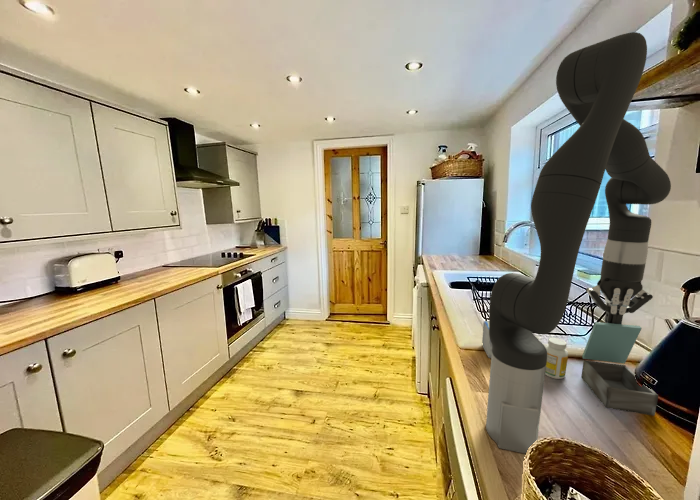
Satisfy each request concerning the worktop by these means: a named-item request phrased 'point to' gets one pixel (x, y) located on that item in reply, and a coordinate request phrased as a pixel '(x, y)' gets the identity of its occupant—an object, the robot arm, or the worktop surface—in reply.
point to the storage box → (618, 388)
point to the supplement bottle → (556, 358)
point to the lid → (611, 342)
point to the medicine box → (487, 339)
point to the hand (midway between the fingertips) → (612, 326)
